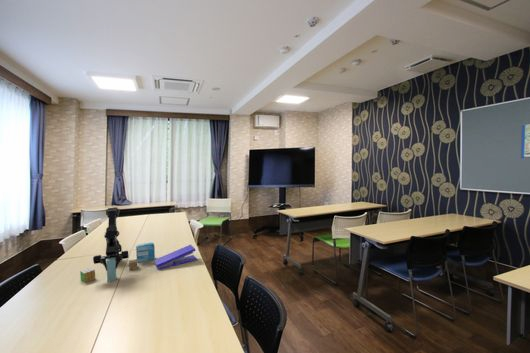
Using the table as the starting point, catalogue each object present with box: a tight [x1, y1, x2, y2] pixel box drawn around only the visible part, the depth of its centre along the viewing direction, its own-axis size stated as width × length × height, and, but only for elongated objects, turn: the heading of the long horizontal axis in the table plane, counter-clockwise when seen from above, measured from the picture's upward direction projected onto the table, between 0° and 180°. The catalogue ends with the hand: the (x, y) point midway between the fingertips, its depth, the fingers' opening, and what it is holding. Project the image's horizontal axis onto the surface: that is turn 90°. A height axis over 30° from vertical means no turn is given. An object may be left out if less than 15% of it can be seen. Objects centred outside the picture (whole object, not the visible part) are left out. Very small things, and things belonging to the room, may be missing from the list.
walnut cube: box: [128, 258, 139, 271], centre depth 166 cm, size 5×5×5 cm
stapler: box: [153, 244, 198, 271], centre depth 175 cm, size 12×28×10 cm, turn 125°
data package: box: [135, 242, 156, 263], centre depth 180 cm, size 12×4×12 cm, turn 120°
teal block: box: [106, 257, 117, 282], centre depth 150 cm, size 4×4×13 cm
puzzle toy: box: [79, 267, 96, 283], centre depth 150 cm, size 6×6×6 cm
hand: (111, 269), depth 149 cm, fingers closed on teal block, 4 cm apart
